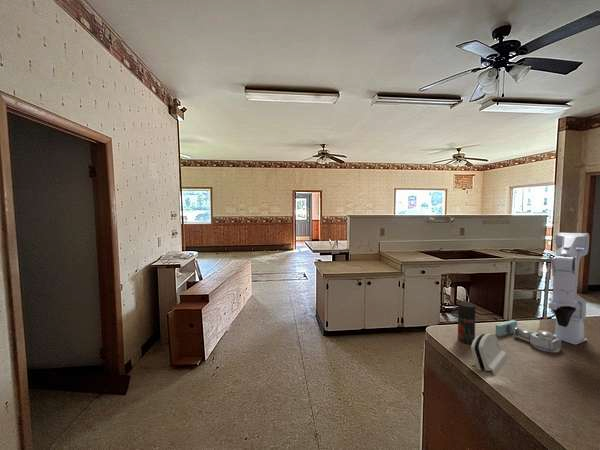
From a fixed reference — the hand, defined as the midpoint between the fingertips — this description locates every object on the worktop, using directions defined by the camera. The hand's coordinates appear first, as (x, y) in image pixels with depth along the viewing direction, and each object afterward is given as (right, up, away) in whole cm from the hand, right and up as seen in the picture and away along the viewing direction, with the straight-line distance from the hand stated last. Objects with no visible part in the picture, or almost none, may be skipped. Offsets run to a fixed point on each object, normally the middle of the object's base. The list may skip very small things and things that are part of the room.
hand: (562, 325), depth 100 cm
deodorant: (-29, -10, +10) cm, 33 cm away
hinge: (-31, -11, -5) cm, 33 cm away
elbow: (-4, -9, +7) cm, 12 cm away
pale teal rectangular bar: (-8, -9, +17) cm, 21 cm away
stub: (-3, -10, +4) cm, 11 cm away
